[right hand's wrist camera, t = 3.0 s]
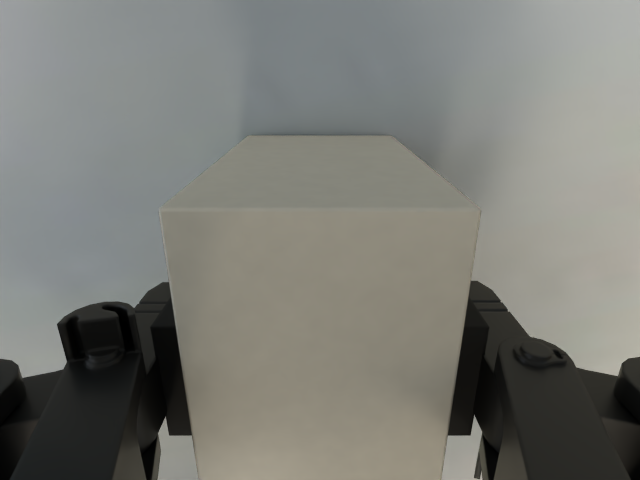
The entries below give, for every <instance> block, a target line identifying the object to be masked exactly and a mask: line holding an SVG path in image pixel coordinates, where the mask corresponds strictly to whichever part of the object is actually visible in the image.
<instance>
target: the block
mask: <svg viewBox="0 0 640 480" xmlns="http://www.w3.org/2000/svg"><path fill="white" fill-rule="evenodd" d="M480 215H481V209H480V207H478V206H477V205H476V204H475V203H473V202H472V201H471V200H470V199H469V198H467V197H466V196H465V195H464V194H462V193H461V192H460V191H459V190H458V189H456V188H455V187H454V186H453V185H451V184H450V183H449V182H448V181H447V180H445V179H444V178H443V177H442V176H440V175H439V174H438V173H437V172H436V171H434V170H433V169H432V168H431V167H429V166H428V165H427V164H426V163H425V162H423V161H422V160H421V159H420V158H418V157H417V156H416V155H415V154H414V153H412V152H411V151H410V150H409V149H407V148H406V147H405V146H404V145H403V144H401V143H400V142H399V141H398V140H396V139H395V138H394V137H393V136H247V137H246V138H245V139H243V140H242V141H241V142H240V143H238V144H237V145H236V146H235V147H234V148H232V149H231V150H230V151H229V152H227V153H226V154H225V155H224V156H223V157H221V158H220V159H219V160H218V161H216V162H215V163H214V164H213V165H211V166H210V167H209V168H208V169H207V170H205V171H204V172H203V173H202V174H200V175H199V176H198V177H197V178H196V179H194V180H193V181H192V182H191V183H189V184H188V185H187V186H186V187H185V188H183V189H182V190H181V191H180V192H178V193H177V194H176V195H175V196H173V197H172V198H171V199H170V200H169V201H167V202H166V203H165V204H164V205H162V206H161V207H160V208H159V218H160V225H161V231H162V238H163V245H164V251H165V258H166V265H167V271H168V278H169V285H170V291H171V298H172V305H173V311H174V318H175V325H176V332H177V338H178V345H179V352H180V358H181V365H182V372H183V378H184V385H185V392H186V398H187V405H188V412H189V418H190V425H191V432H192V438H193V445H194V452H195V459H196V465H197V472H198V479H199V480H441V477H442V470H443V463H444V456H445V450H446V443H447V436H448V430H449V423H450V416H451V410H452V403H453V396H454V389H455V383H456V376H457V369H458V363H459V356H460V349H461V343H462V336H463V329H464V322H465V316H466V309H467V302H468V296H469V289H470V282H471V276H472V269H473V262H474V255H475V249H476V242H477V235H478V229H479V222H480Z"/></svg>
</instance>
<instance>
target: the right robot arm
mask: <svg viewBox="0 0 640 480" xmlns="http://www.w3.org/2000/svg"><path fill="white" fill-rule="evenodd" d="M57 326H58V330H59V334H60V337H61V341H62V345H63V348H64V352H65V356H66V359H67V363H66V365H65V367H64V369H63V370H60V371H56V372H51V373H46V374H41V375H36V376H31V377H26V378H22V376H21V373H20V370H19V366H18V365H17V364H16V363H14V362H13V361H12V360H4V359H0V480H157V479H158V471H159V463H160V454H161V449H160V442H159V437H158V432H159V429H160V427H161V425H162V423H163V421H164V418H165V416H166V420H167V426H168V431H169V435H192V432H191V425H190V418H189V412H188V405H187V398H186V392H185V385H184V378H183V372H182V365H181V358H180V352H179V345H178V338H177V332H176V325H175V318H174V311H173V305H172V298H171V291H170V285H169V282H162V283H161V284H159V285H158V286H156V287H154V288H153V289H151V290H149V291H148V292H147V293H146V294H145V296H144V297H143V298H142V299H141V301H140V302H139V304H137V306H136V307H135V308H133V307H132V306H131V305H129V304H127V303H122V302H102V303H97V304H92V305H88V306H85V307H83V308H80V309H77V310H75V311H73V312H72V313H70V314H68V315H66V316H65V317H64V318H63V319H62V320H61V321H60V322H59V323H58V324H57ZM474 415H475V417H476V419H477V421H478V424H479V426H480V428H481V430H482V437H481V442H480V447H479V452H478V458H477V463H476V468H475V475H474V478H477V479H480V475H481V470H482V478H483V480H640V357H636V358H629V359H627V360H626V361H625V362H623V363H622V365H621V368H620V371H619V375H618V376H614V375H609V374H604V373H599V372H593V371H588V370H584V369H580V368H576V366H575V364H574V362H573V361H572V359H571V358H570V357H569V356H568V354H567V353H566V352H564V351H563V350H561V349H560V348H558V347H557V346H555V345H553V344H551V343H549V342H546V341H544V340H541V339H537V338H533V337H530V336H529V335H528V334H527V333H526V332H525V330H524V329H523V328H522V327H521V325H520V324H519V323H518V322H517V320H516V319H515V318H514V317H513V315H512V314H511V313H510V312H508V309H507V308H506V307H505V305H504V304H503V303H501V302H500V299H499V298H498V297H497V296H496V294H495V293H494V292H493V291H492V290H491V289H490V288H488V287H486V286H485V285H483V284H481V283H480V282H478V281H471V282H470V289H469V296H468V302H467V309H466V316H465V322H464V329H463V336H462V343H461V349H460V356H459V363H458V369H457V376H456V383H455V389H454V396H453V403H452V410H451V416H450V423H449V430H448V435H471V430H472V424H473V418H474Z"/></svg>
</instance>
